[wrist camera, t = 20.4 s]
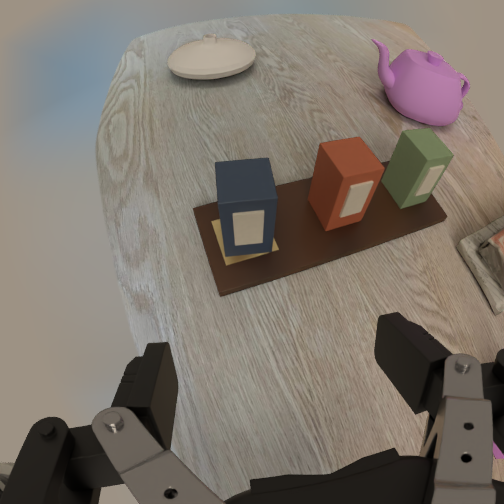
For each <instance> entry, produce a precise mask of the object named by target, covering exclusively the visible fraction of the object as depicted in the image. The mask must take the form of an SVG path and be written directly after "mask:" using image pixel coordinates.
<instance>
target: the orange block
mask: <svg viewBox="0 0 504 504" xmlns="http://www.w3.org/2000/svg"><path fill="white" fill-rule="evenodd" d="M384 169H385V168H384V167H383V165H382V164H381V163H380V161H379V160H378V159H377V158H376V156H375V155H374V154H373V153H372V151H371V150H370V149H369V148H368V146H367V145H366V144H365V143H364V141H363V140H362V139H361V138H360V137H354V138H348V139H341V140H335V141H330V142H324V143H320V144H319V149H318V154H317V159H316V163H315V168H314V173H313V177H312V182H311V187H310V191H309V196H308V201H309V202H310V204H311V206H312V208H313V209H314V211H315V213H316V215H317V217H318V219H319V220H320V222H321V224H322V226H323V228H324V230H325V231H329V230H332V229H335V228H339V227H342V226H345V225H349V224H352V223H355V222H359V221H361V220H362V218H363V216H364V213H365V211H366V209H367V207H368V205H369V203H370V201H371V198H372V196H373V194H374V192H375V190H376V187H377V185H378V183H379V181H380V178H381V176H382V174H383V172H384Z"/></svg>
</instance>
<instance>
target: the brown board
mask: <svg viewBox="0 0 504 504" xmlns="http://www.w3.org/2000/svg"><path fill="white" fill-rule="evenodd" d="M389 162H390V161H387V162H382V163H381V164H382V165H383V167H384V168H385V169H384V172H383V174H382V176H381V178H380V181H379V183H378V185H377V187H376V190H375V192H374V194H373V196H372V198H371V201H370V203H369V205H368V207H367V209H366V211H365V213H364V216H363V218H362V220H361V221H359V222H355V223H352V224H349V225H345V226H342V227H339V228H335V229H332V230H329V231H325V230H324V228H323V226H322V224H321V222H320V220H319V219H318V217H317V215H316V213H315V211H314V209H313V208H312V206H311V204H310V202H309V201H308V196H309V191H310V187H311V182H312V178H308V179H303V180H299V181H295V182H291V183H287V184H282V185H278V186H275V187H276V192H277V196H278V202H277V211H276V220H275V229H274V238H273V247H272V252H268V253H258V254H249V255H239V256H230V257H225V252H224V245H223V238H222V231H221V223H220V216H219V209H218V201H217V202H213V203H210V204H206V205H203V206H199V207H196V208H193V211H194V215H195V218H196V221H197V225H198V228H199V231H200V235H201V238H202V241H203V244H204V248H205V251H206V254H207V257H208V261H209V264H210V267H211V270H212V273H213V276H214V280H215V283H216V286H217V289H218V292H219V295H220V297H221V296H224V295H228V294H231V293H234V292H237V291H240V290H244V289H247V288H250V287H253V286H256V285H259V284H263V283H266V282H269V281H272V280H275V279H278V278H281V277H284V276H287V275H291V274H294V273H297V272H300V271H303V270H306V269H309V268H312V267H315V266H318V265H321V264H324V263H327V262H330V261H333V260H336V259H339V258H341V257H344V256H347V255H350V254H353V253H356V252H359V251H362V250H365V249H368V248H370V247H373V246H376V245H379V244H382V243H385V242H387V241H390V240H393V239H396V238H399V237H401V236H404V235H407V234H410V233H412V232H415V231H418V230H421V229H423V228H426V227H429V226H432V225H434V224H437V223H440V222H442V221H444V220H445V219H446V218H447V215H446V214H445V212H444V211H443V209H442V208H441V206H440V205H439V203H438V202H437V200H436V199H435V198H434V196H433V195H432V193H431V194H430V196H429V197H428V199H427V200H426V201H425V202H422V203H419V204H415V205H412V206H409V207H405V208H402V209H400V208H399V206H398V205H397V203H396V202H395V200H394V199H393V197H392V196H391V194H390V193H389V192H388V190H387V189H386V187H385V186H384V184H383V183H382V182H381V180H382V178H383V176H384V173H385V171H386V169H387V166H388V164H389Z"/></svg>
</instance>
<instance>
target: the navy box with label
mask: <svg viewBox="0 0 504 504" xmlns="http://www.w3.org/2000/svg"><path fill="white" fill-rule="evenodd" d="M215 172H216V186H217V200H218V209H219V216H220V223H221V231H222V238H223V245H224V252H225V257H230V256H239V255H249V254H258V253H268V252H272V247H273V238H274V229H275V220H276V211H277V202H278V196H277V192H276V187H275V183H274V178H273V174H272V170H271V165H270V161H269V158H257V159H245V160H233V161H223V162H215Z"/></svg>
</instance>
